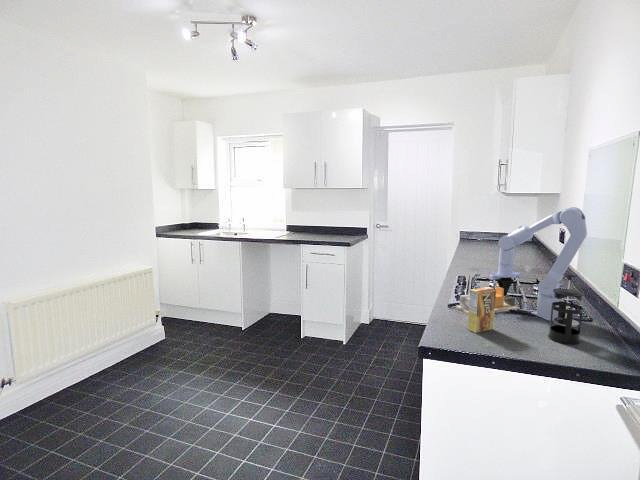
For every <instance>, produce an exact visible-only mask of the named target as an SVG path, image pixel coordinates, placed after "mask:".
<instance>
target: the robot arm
mask: <svg viewBox="0 0 640 480" xmlns="http://www.w3.org/2000/svg"><path fill="white" fill-rule="evenodd" d="M561 224H562V225H564V227H566V229H567V231H568V232H569V237H568V239H567V241H566V243H565V245H564V246H563V248H562V250H561V251H560V252H559V255H558V256H557V258H556V260H555V261H554V263H553V265H552V267H551V269H550V270H549V272H548V273H547V274H546V276H545V277H544V279H543V280H541V281H540V282H539V283H538V284H537V290H538V293H537V301H536V302H537V304H536V311H531V312H530V314H532V315H534V316H537V317H539V318H542V319H544V320H547V321H549V322H550V318H551V307H552V303H553V302H559V301H565V300H564V298H562V299H557V298H555V297H554V292H553V289H557V288H561V285H562V284H561V282H562V281H561V280H562V279H563V277H564V275H563V274H566V271H567V270H568V267H569V266H570V264H571V263H572V261H573V259H574V258H575V256H576V255H577V253H578V251H579V249H580V248H581V246H582V244H583V242H584V241H585V239H586V238H587V235H588V231H587V230H588V229H587V224H586V215H585V213H583V211H582V210H581V209H580V208H579V207H577V206H576V207H573V206H571V207H569V208H565V209H563V210H561V211H558V212H555V213H551V214H550V215H549V216H546V217H545V218H542V219H541V220H539V221H537V222H535V223H534V224H532V225H531V226H530V225H529V226H528V225H520V226H518V227H517V229H516V230H514V231H510V232H507V235H503V236H501V237H500V239H499V240H498V243H497V244H498V247H499V252H498V264H497V265H498V267H497V272H495V273H491V274H489V275H488V280H491V281H496V283H497V285H498V286H499V287H501V288H504V297H505V296H506V295H508V292H509V290H510V287H511V286H512V285H513V283H514V281H515V280H514V279H515V278H518V279H519V278H521V277H522V273H521V272H518V271H517V272H514V262H515V248H516V247H517V246H519V245H521V244H523V243H525V242H527V241H529V240H530V239H533V237H534V234H535V233H537V232H539V231H541V230H543V229H546V228H548V227H550V226H552V225H561ZM556 307H559V305H557V306H556ZM558 312H559V311H556V310H554V309H553V316H552V318H554V317H558Z"/></svg>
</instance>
